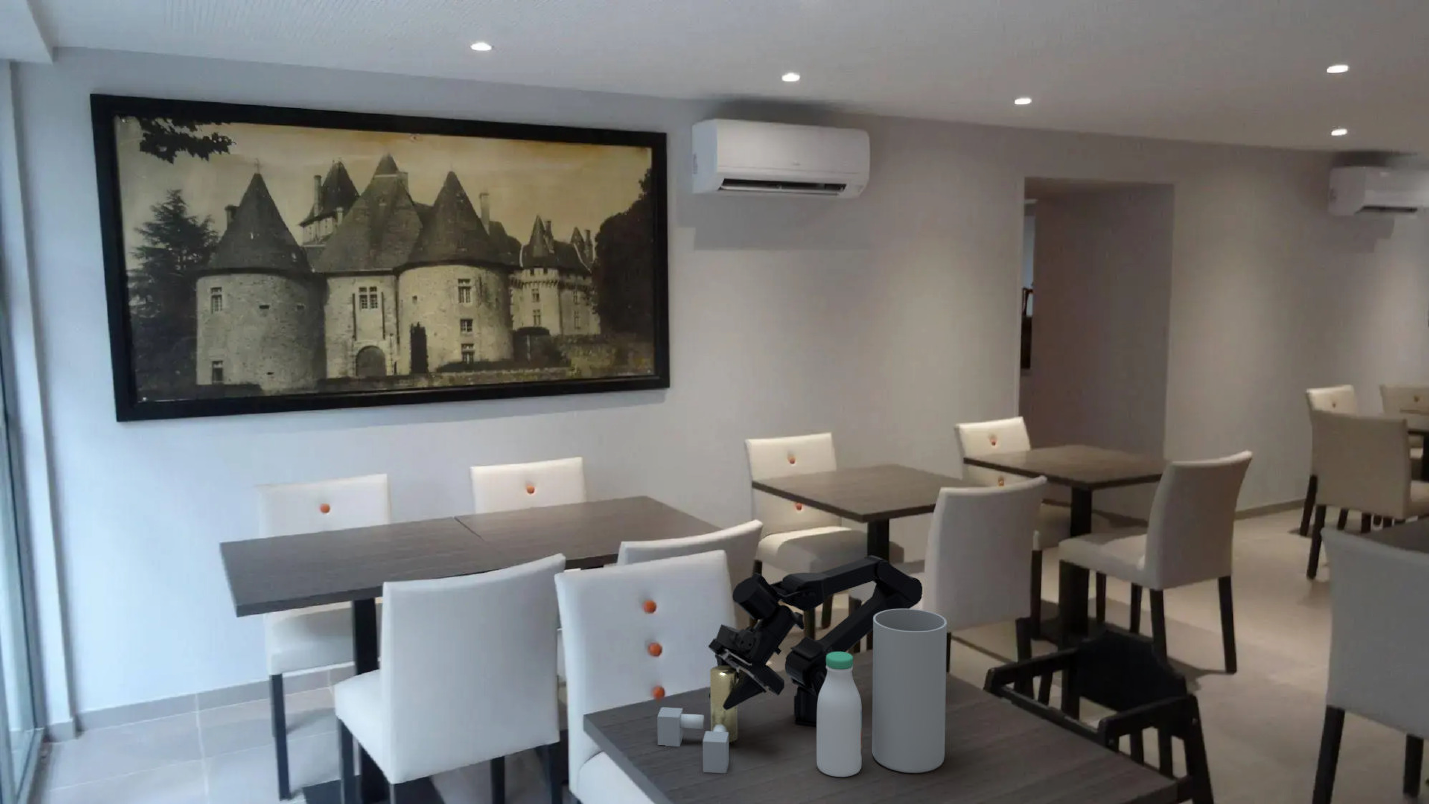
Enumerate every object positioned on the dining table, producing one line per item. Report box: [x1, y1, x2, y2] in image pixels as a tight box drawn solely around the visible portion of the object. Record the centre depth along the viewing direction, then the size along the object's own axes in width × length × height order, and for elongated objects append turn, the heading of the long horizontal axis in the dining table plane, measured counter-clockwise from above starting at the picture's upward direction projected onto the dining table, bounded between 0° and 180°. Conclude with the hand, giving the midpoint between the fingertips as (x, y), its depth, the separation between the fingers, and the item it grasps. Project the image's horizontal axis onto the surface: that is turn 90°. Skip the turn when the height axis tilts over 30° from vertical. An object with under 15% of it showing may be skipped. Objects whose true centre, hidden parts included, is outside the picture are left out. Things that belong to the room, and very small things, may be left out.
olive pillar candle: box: [709, 665, 738, 743], centre depth 177 cm, size 5×5×12 cm
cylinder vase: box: [871, 608, 948, 774], centre depth 170 cm, size 12×12×25 cm
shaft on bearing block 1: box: [656, 707, 705, 748], centre depth 178 cm, size 8×4×6 cm, turn 83°
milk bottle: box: [816, 651, 863, 778], centre depth 167 cm, size 8×8×20 cm
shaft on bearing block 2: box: [702, 724, 730, 774], centre depth 170 cm, size 8×4×6 cm, turn 173°
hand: (717, 703), depth 176 cm, fingers closed on olive pillar candle, 5 cm apart
